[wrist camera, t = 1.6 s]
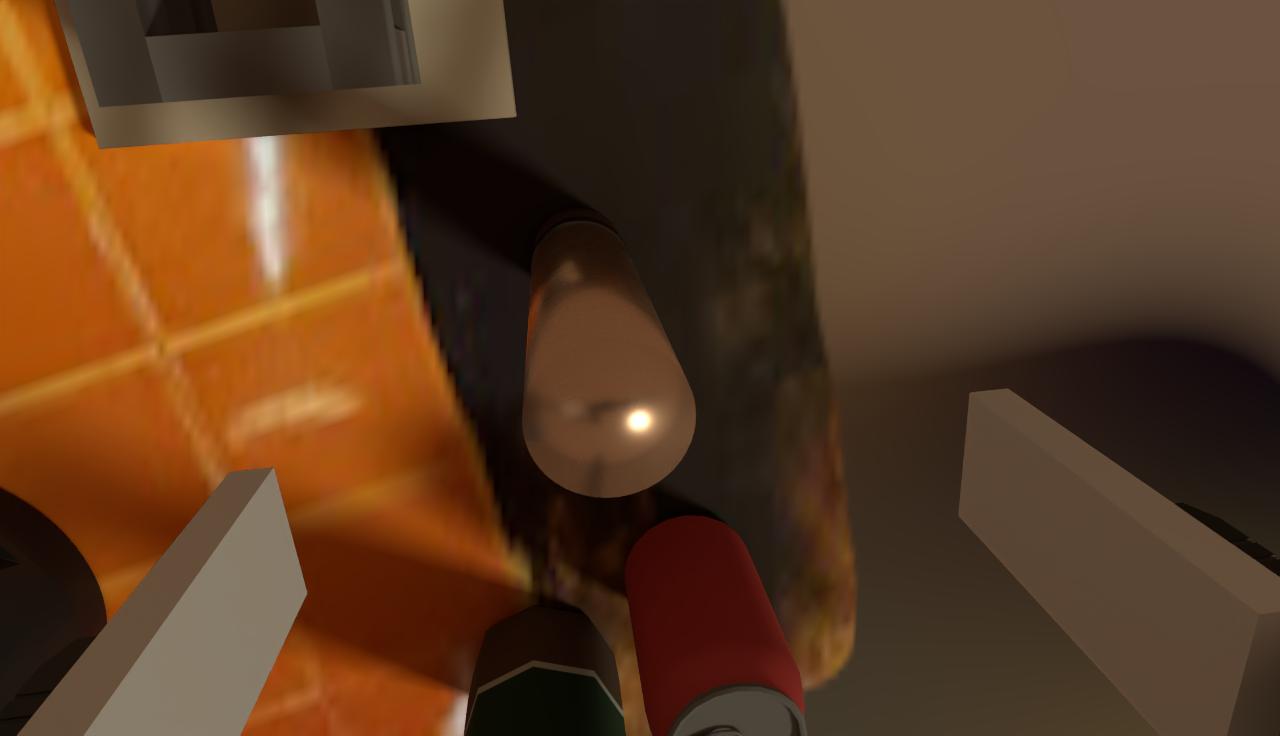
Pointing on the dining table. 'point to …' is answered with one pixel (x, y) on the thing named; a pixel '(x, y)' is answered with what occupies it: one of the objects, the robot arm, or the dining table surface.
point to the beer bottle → (545, 679)
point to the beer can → (708, 636)
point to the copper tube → (599, 365)
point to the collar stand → (283, 66)
